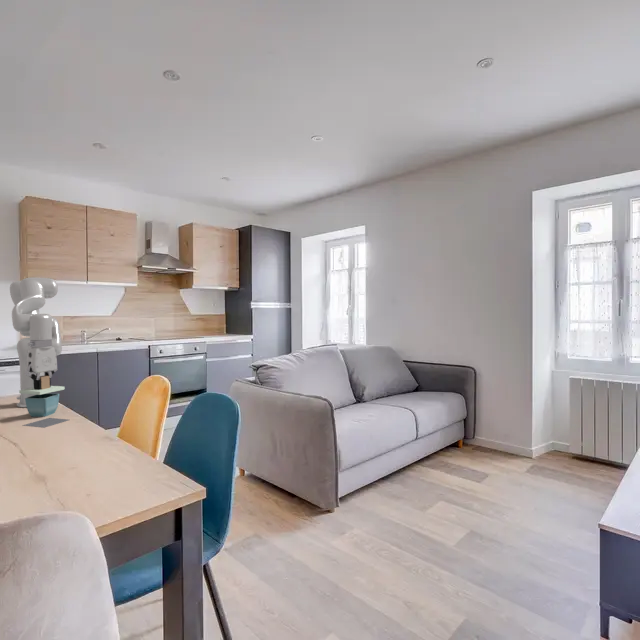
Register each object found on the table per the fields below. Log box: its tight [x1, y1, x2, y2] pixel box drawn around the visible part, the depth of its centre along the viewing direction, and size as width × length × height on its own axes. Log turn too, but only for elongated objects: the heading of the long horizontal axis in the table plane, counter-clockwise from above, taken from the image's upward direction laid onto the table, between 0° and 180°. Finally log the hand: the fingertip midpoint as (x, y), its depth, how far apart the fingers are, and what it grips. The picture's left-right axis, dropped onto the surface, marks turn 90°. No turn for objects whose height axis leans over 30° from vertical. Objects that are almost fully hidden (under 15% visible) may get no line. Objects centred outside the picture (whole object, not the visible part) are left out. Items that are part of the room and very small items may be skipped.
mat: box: [22, 417, 69, 429], centre depth 156 cm, size 11×11×1 cm
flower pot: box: [25, 393, 60, 418], centre depth 167 cm, size 9×9×9 cm
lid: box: [18, 376, 66, 395], centre depth 167 cm, size 11×11×6 cm
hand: (42, 387), depth 167 cm, fingers closed on lid, 3 cm apart
